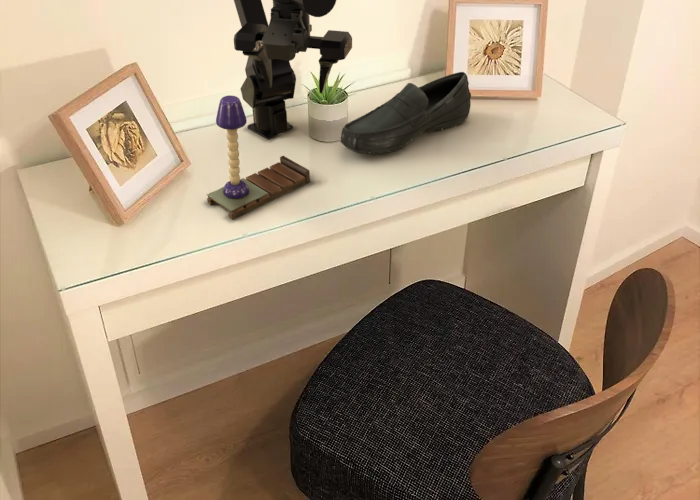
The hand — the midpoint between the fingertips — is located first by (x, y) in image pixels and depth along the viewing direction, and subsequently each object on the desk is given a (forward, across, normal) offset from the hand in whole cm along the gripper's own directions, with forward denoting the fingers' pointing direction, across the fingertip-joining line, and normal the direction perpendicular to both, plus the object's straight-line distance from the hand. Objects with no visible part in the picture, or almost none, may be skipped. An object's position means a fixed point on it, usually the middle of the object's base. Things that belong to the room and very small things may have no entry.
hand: (295, 89), depth 129 cm
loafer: (+13, +17, +13) cm, 25 cm away
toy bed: (+13, -3, -13) cm, 19 cm away
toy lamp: (+12, -5, -16) cm, 21 cm away
